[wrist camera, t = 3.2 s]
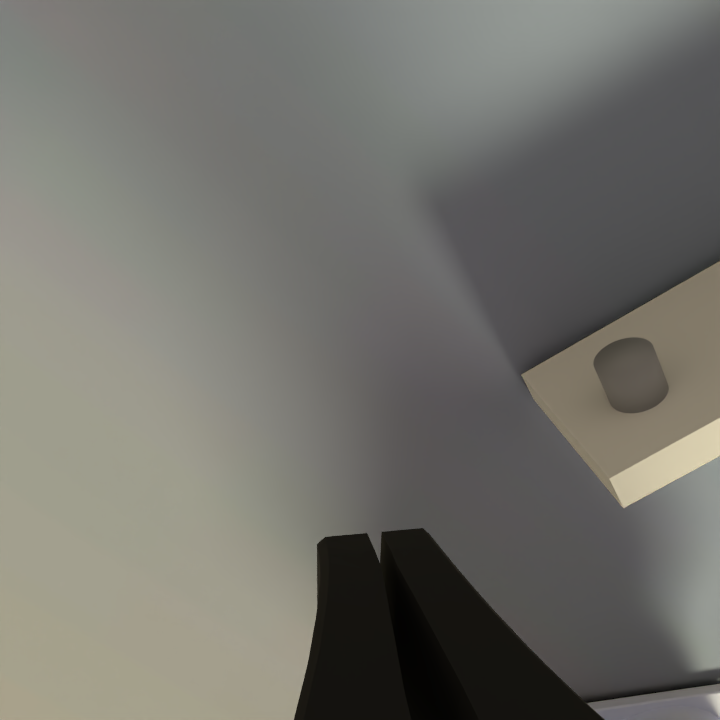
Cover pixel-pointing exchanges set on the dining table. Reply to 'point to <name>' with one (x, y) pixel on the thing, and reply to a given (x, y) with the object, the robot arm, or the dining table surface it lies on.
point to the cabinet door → (642, 390)
